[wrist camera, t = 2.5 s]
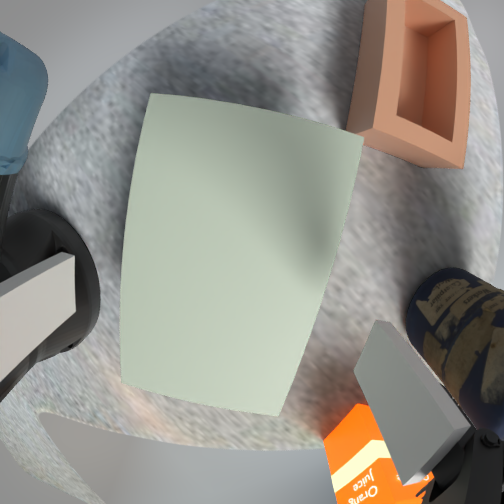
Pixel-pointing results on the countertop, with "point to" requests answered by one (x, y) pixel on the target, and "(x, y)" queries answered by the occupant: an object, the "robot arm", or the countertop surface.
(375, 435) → the orange juice
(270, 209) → the board
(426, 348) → the canister
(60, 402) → the countertop surface
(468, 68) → the dish
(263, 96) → the countertop surface
